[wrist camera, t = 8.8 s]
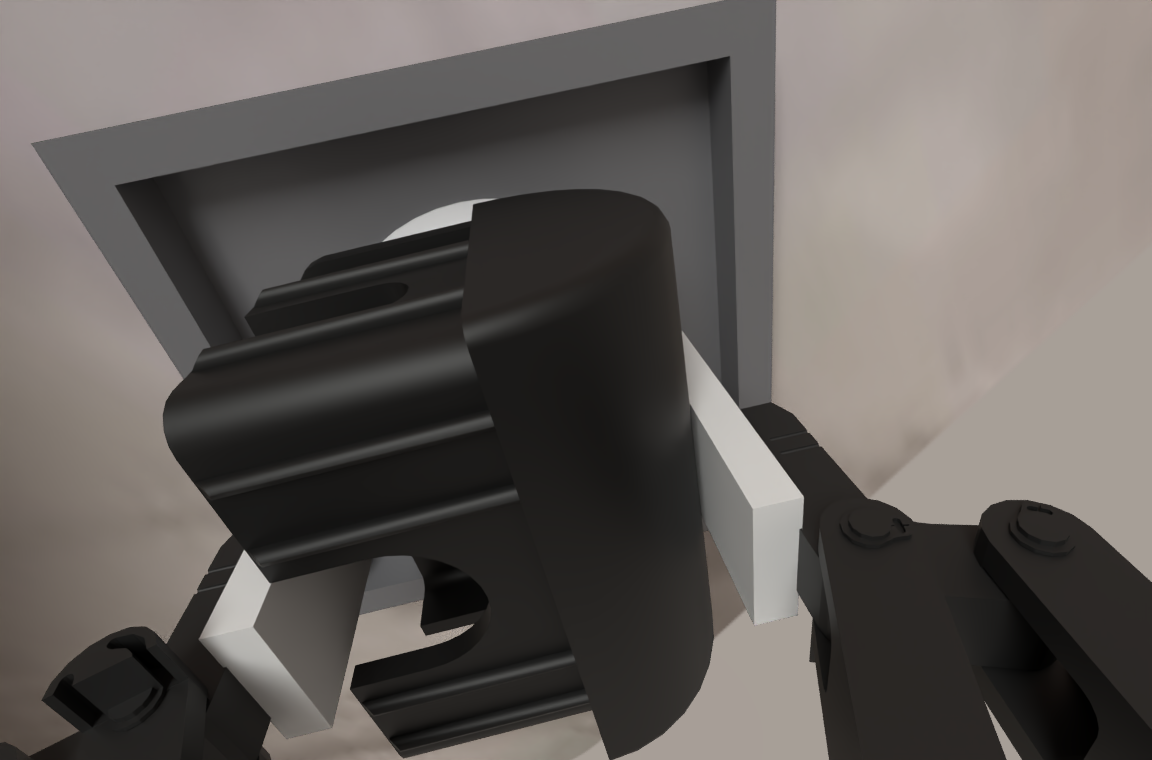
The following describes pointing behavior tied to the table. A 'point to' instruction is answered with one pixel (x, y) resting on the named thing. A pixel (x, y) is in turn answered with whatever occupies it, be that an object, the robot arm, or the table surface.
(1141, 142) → the table surface
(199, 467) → the end cap
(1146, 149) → the table surface
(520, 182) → the grey square tray
